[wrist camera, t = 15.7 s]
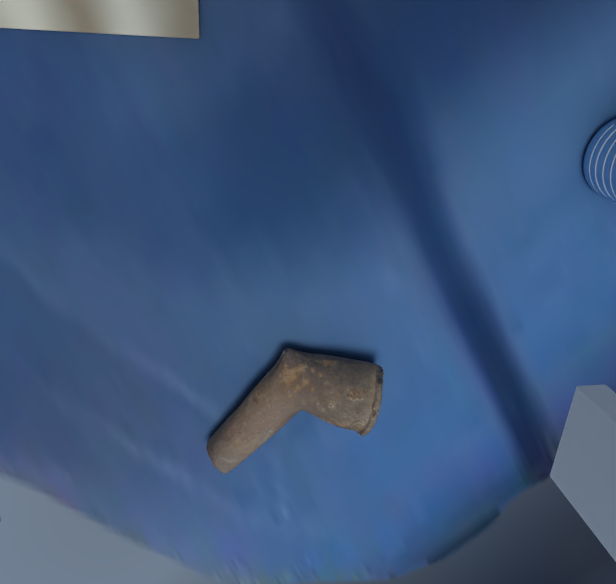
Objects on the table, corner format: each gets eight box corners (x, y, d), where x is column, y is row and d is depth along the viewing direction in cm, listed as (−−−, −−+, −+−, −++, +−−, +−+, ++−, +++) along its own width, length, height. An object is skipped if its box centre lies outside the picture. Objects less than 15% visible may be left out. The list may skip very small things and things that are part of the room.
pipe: (187, 473, 46) (279, 533, 49) (317, 332, 43) (410, 405, 45) (199, 430, 52) (281, 485, 55) (313, 303, 49) (396, 368, 51)
